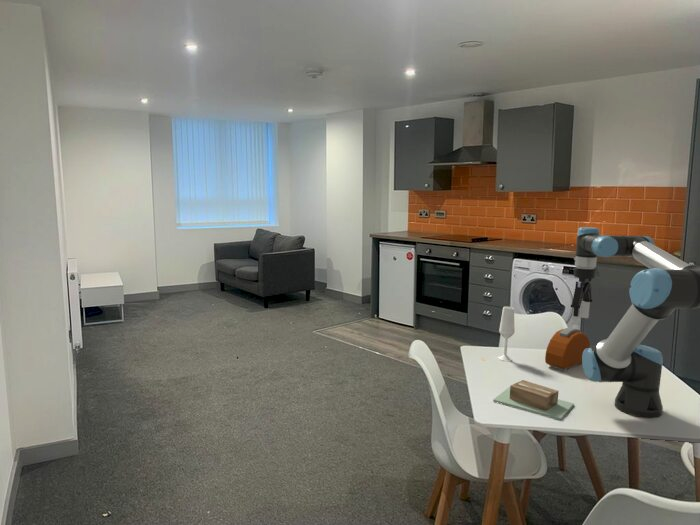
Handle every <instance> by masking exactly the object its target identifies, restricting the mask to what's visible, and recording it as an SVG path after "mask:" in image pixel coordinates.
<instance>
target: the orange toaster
mask: <svg viewBox="0 0 700 525" xmlns="http://www.w3.org/2000/svg"><path fill="white" fill-rule="evenodd" d="M590 342H591V341H590V339H589V337H588V336H587V335H586V334H585V333H583V332H582V331H581V329H578V328H573V327H565V328H561V329H559V330H557V331H556V332H555V333H554V334H553V335H552V336H551V338H550V340H549V342H548V344H547V347H546V351H545V356H544V358H545V359H544V360H545V363H546V365H548V366H549V367H552V368H555V369H559V370H562V371H565V372H566V371H568V369H569V368H572V367H574V366H577V365H580V364H582V354H583V351H584V350H585V349H587V348H591V344H590Z"/></svg>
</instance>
